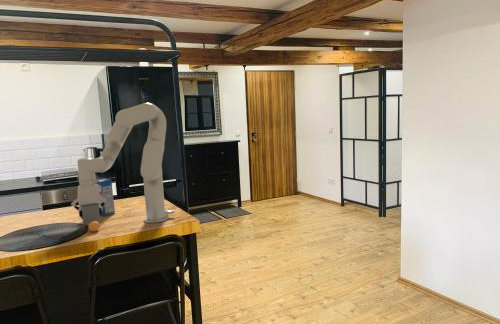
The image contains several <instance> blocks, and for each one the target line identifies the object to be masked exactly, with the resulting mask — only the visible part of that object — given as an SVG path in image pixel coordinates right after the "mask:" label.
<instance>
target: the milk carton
mask: <svg viewBox="0 0 500 324" xmlns="http://www.w3.org/2000/svg"><path fill="white" fill-rule="evenodd" d="M98 179H99V182H97V183H96V184H98V188H99V193H100V196H102V197H104V198H106V199H107V201H106V203H105V204H104V205H103V207H102V208H101V209H102V214H101V216H100V217H104V218H107V217H110V216H113V215H115V214H116V212H115V202H114V193H113V184H112V183H113V181H112V179H110V178H109V179H108V178H98ZM102 202H103V200H102V199H100V204H101V203H102Z"/></svg>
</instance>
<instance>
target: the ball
mask: <svg viewBox="0 0 500 324" xmlns="http://www.w3.org/2000/svg"><path fill="white" fill-rule="evenodd" d="M100 228H101V225H100V222H97V221H92V222H91V223H90V224H88V229H89V231H90V232H93V233H94V232H97V231H99V229H100Z"/></svg>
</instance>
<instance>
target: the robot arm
mask: <svg viewBox="0 0 500 324" xmlns="http://www.w3.org/2000/svg"><path fill="white" fill-rule="evenodd" d="M114 119H115V121H114V123H113V125H112V127H111V129H110V130H109V131H108V134H107V136H106V143H105V146H104V148H103V149H102V152H101V154H100V155H99V157H96V158H93V157H80V158H79V159H77V173H78V180H79V182H78V183H79V185H78V186H77V197H76V199H74V200H73V201H72V202H71V203H70V205H71V206H72V207H73V208H74V209H75V210H77V211H78V216H79V218H80V219H81V220H82V218H83V216H82V210H81V209H82V206H87V205H94V204H99V213H100V217H102V216H101V214H102V209H101V208H102V207H103V205H104V204H105V203H106V201H107V199H106V198H104V197H102V196H100V193H99V188H98V184H96V183H97V182H99V179H100V178H96V173H105V172H106V171H108V170H110V169H111V167H113V165H114V163H115V161H116V159H117V158H118V156H119V153H120V151H121V150H122V148H123V146H124V144H125V142H126V140H127V138H128V136H129V134H130V133H131V131H132V129H133V127H134V126H136V125H140V124H142V123H145V122H148V124H149V127H148V134H147V140H146V142H145V144H144V146H143V151H142V156H141V163H140V175H141V177H142V178H143V189H144V190H143V191H144V203H145V212H146V217H144V218H143V221H144V223H147V224H149V223H150V224H153V223H154V224H155V223H162V222H165V221H167V220H169V218H170V217H169V215H172V214H175V213H176V212H175V210H174V209H169V210H167V209H166V205H165V195H164V194H165V193H164V181H163V179H164V178H163V168H162V167H163V166H162V165H163V156H164V152H165V141H166V135H167V134H166V132H167V118H166V115H165V114H164V112H163V110H162V109H161V108H159V107H158V106H156V105H155V104H154V103H150V102H144V103H141V104H138V105H134V106H132V107H128V108H124V109H121V110H119V111H118V112H116V114H115V118H114ZM100 199H102V200H103V202H102V203H101V204H100ZM77 203H78V205H79V206H77V205H76V204H77Z"/></svg>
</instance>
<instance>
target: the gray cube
mask: <svg viewBox="0 0 500 324" xmlns="http://www.w3.org/2000/svg"><path fill="white" fill-rule="evenodd" d="M81 210H82V216H83V218H82V219H81V220H82V225H89V224H90V223H91V222H92V221H97V222H98V223H101V216H100V213H99V204H94V205H87V206H82V209H81Z"/></svg>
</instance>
